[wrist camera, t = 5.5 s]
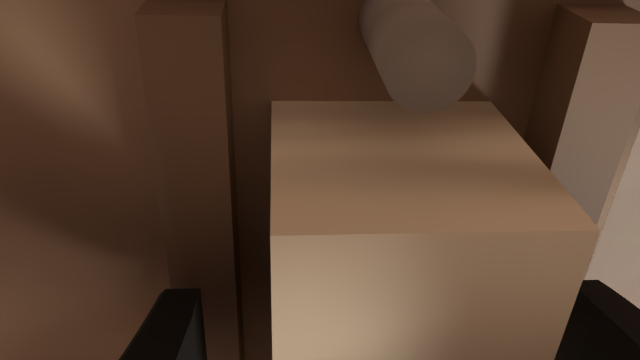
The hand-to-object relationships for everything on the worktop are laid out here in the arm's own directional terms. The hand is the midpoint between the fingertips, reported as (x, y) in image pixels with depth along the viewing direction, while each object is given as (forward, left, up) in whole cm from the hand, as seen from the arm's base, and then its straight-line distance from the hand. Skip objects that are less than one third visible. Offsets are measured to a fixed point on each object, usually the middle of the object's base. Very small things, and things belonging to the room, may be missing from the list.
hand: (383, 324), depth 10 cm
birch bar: (0, 0, -2) cm, 2 cm away
